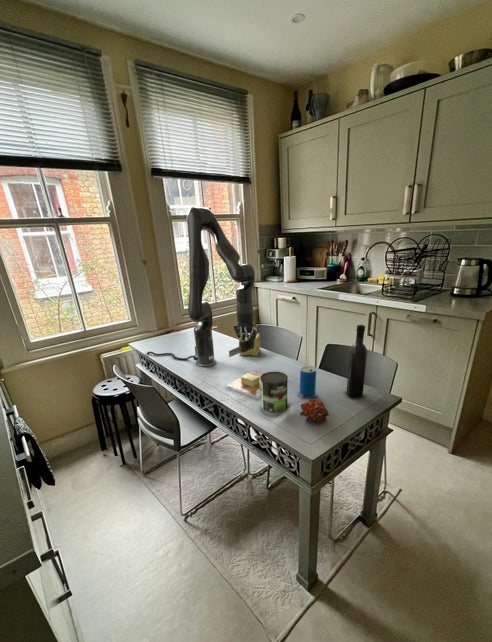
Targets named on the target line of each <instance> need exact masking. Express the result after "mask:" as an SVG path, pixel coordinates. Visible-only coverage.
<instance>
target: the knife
mask: <svg viewBox="0 0 492 642" xmlns="http://www.w3.org/2000/svg"><path fill="white" fill-rule="evenodd" d="M253 348H254V340H252V347H251V348H249V349H248V348H247V339H244V340H241V341H239V340H238V346H237V347H234V348H232V349H229V350H228V357H229V358H231V357H234V356H236V355H238V354H239V355H240V353H241V352H243V353H244V352H246V351H248V350H251V349H253Z"/></svg>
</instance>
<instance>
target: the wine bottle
mask: <svg viewBox="0 0 492 642" xmlns="http://www.w3.org/2000/svg"><path fill="white" fill-rule="evenodd" d="M355 331H356V336H355V343H353V344H352V345H351V347H350V350H349V359H348V371H347V383H346V394H347V396H348V398H350V399H361V398H362V397H363V396H364V386H365V379H366V370H367V369H366V368H367V359H368V349H367V347H366V345H365V344H364V338H365V332H366V325H364V324H357V325H356V329H355Z"/></svg>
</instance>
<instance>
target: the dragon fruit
mask: <svg viewBox="0 0 492 642" xmlns="http://www.w3.org/2000/svg"><path fill="white" fill-rule="evenodd" d="M300 408H301V409H300V410H301V411H299V415H300V417H306V421H307V422H312V423H315V424H317V423H321V422H322V423H324V422H327V417H328V416H330V414H329V411H328V409H327V407H326V406H325V404H324V402H322V401H318V400H317V399H310V400H309V401H308V402H304V403H301V404H300Z"/></svg>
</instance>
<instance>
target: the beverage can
mask: <svg viewBox="0 0 492 642" xmlns="http://www.w3.org/2000/svg"><path fill="white" fill-rule="evenodd" d="M316 386H317V371H316V368H315V367H313V366H302V367H301V369H300V371H299V393H300V394H301V395H302V398H305V399H311V398H313V397H315V395H316Z"/></svg>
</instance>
